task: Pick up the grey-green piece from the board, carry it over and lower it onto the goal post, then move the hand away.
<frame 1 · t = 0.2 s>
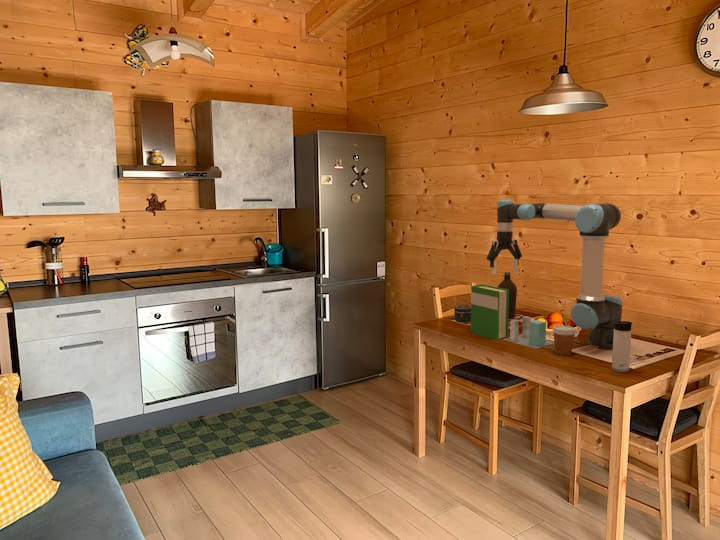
hand: (504, 272, 284), 29 cm above the table, fingers open, 13 cm apart
disposable coffee cup: (563, 355, 244), on the table
olive oil: (506, 317, 313), on the table
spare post: (514, 341, 265), resting on board
goal post: (526, 338, 270), resting on board
board: (528, 342, 263), on the table
grey-green piece: (537, 344, 257), point 1 cm above the table, touching board
jar: (463, 320, 307), on the table
travel mug: (620, 370, 224), on the table
hardback book: (489, 336, 276), on the table
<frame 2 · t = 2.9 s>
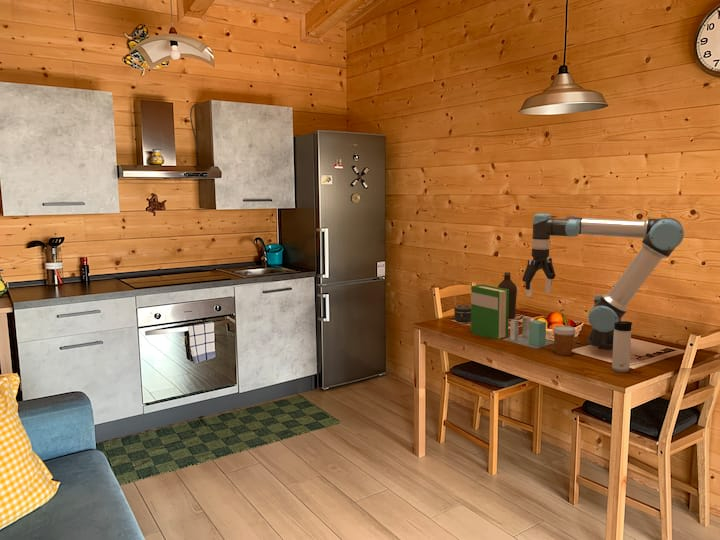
hand: (538, 294, 255), 24 cm above the table, fingers open, 13 cm apart
nothing on the table moved.
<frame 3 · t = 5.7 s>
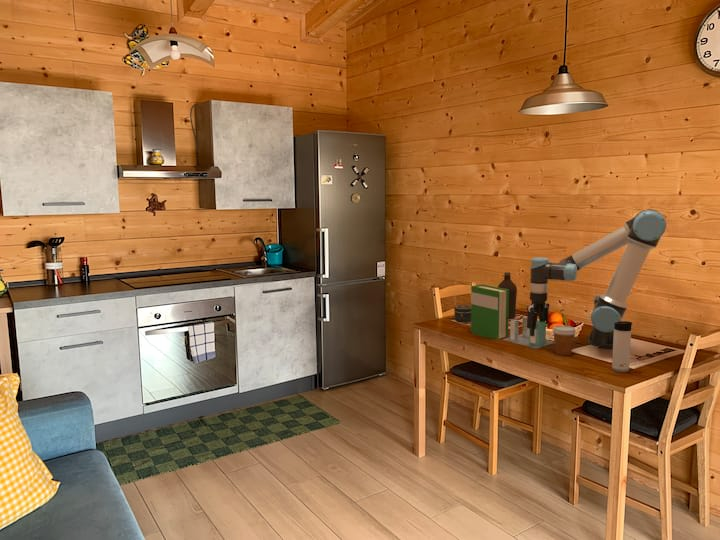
hand: (537, 341, 257), 2 cm above the table, fingers closed on grey-green piece, 5 cm apart
grey-green piece: (537, 344, 257), point 1 cm above the table, touching board, gripper
everything else where it was.
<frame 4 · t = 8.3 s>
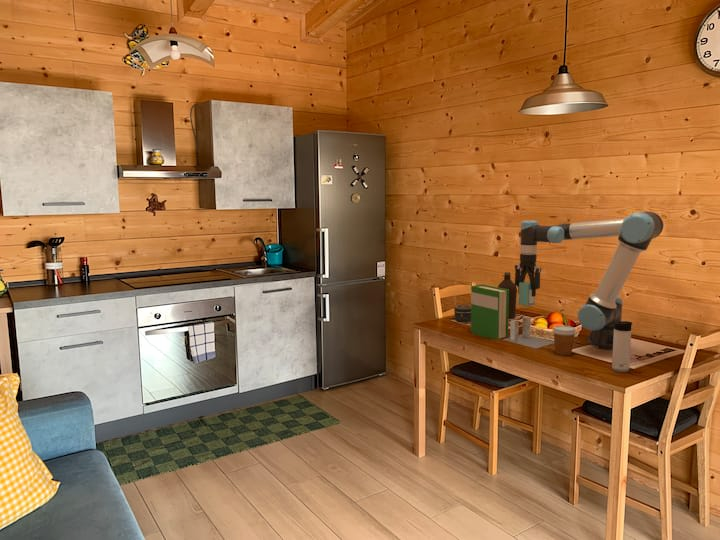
hand: (526, 301, 267), 18 cm above the table, fingers closed on grey-green piece, 5 cm apart
grey-green piece: (526, 304, 268), point 17 cm above the table, touching gripper
everything else where it was.
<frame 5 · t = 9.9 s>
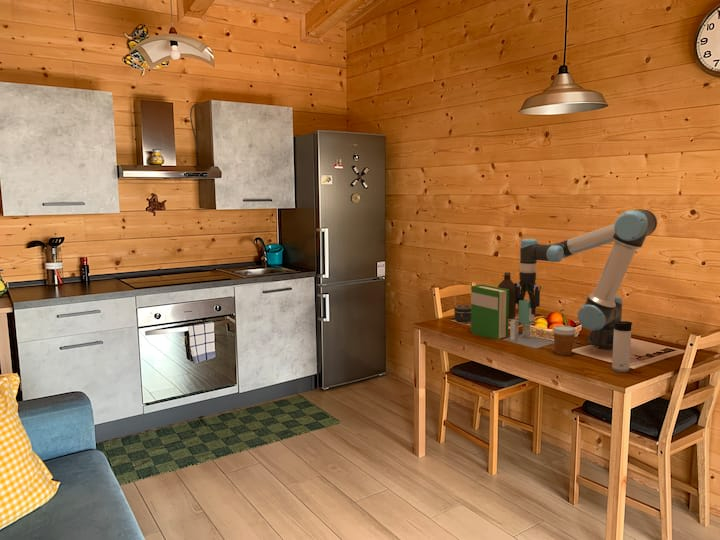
hand: (526, 319, 269), 9 cm above the table, fingers closed on grey-green piece, 5 cm apart
grey-green piece: (526, 322, 269), point 8 cm above the table, touching gripper
everything else where it was.
when the fingers open (4 cm above the table, at t = 11.3 s): grey-green piece drops 2 cm, resting on goal post.
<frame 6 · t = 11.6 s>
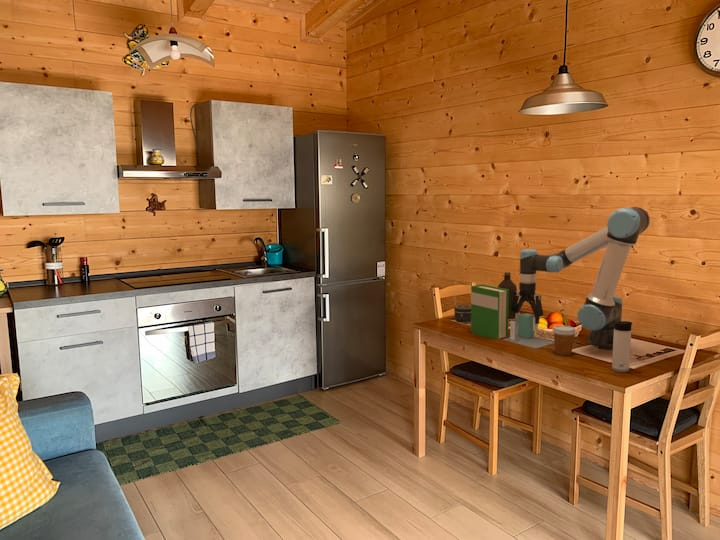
hand: (526, 328, 269), 5 cm above the table, fingers open, 9 cm apart
grey-green piece: (526, 336, 270), point 1 cm above the table, touching goal post
everything else where it was.
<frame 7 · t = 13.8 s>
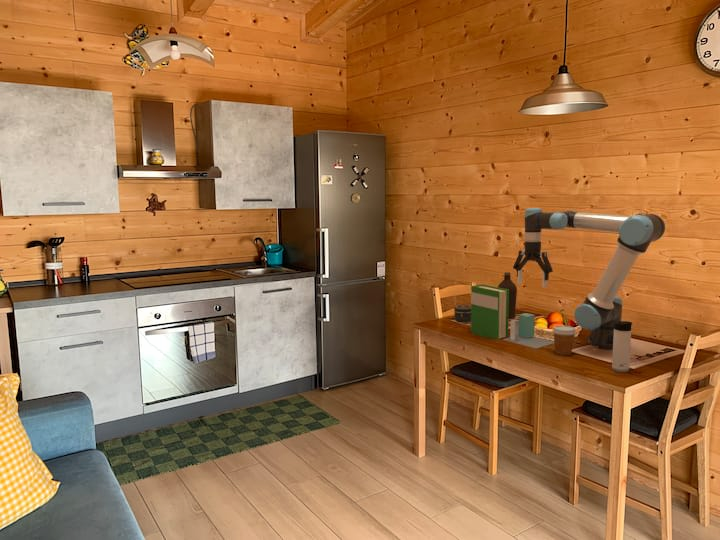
hand: (532, 285, 267), 26 cm above the table, fingers open, 13 cm apart
nothing on the table moved.
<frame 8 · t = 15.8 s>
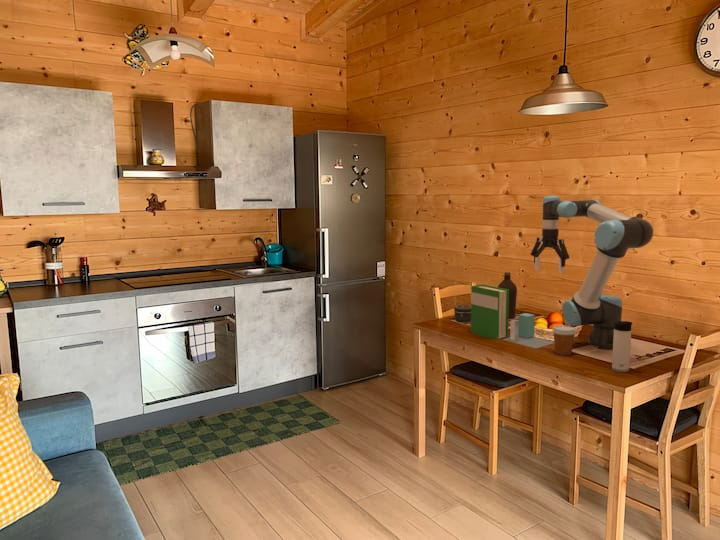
hand: (549, 271, 275), 31 cm above the table, fingers open, 13 cm apart
nothing on the table moved.
at the end: grey-green piece 0.0 cm from the goal post (horizontally); grey-green piece point 1.1 cm above the table; grey-green piece tilted 0° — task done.
